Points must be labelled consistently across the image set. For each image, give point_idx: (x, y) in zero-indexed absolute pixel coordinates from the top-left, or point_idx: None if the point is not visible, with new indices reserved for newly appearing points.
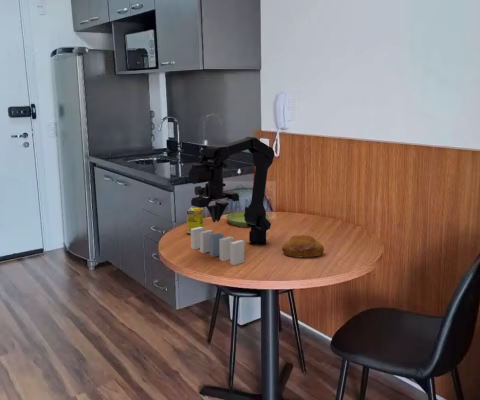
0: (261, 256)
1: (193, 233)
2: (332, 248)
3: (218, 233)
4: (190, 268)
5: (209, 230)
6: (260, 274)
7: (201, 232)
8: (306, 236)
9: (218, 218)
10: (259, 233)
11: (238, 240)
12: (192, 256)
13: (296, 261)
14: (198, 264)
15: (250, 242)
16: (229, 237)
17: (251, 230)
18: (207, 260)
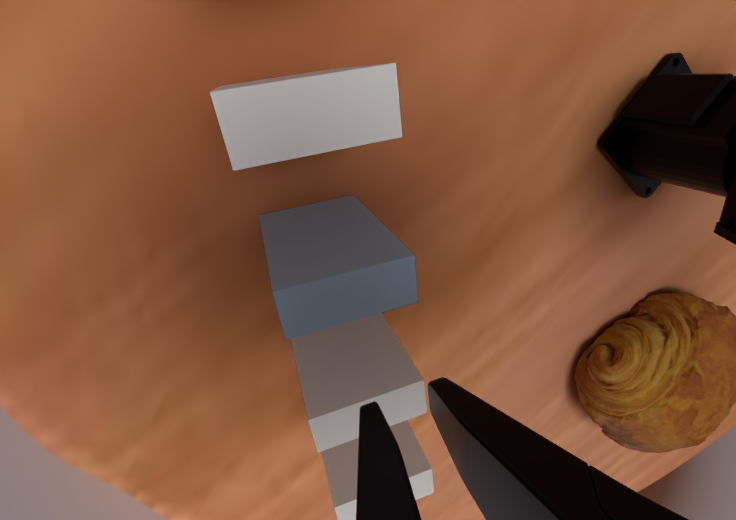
0: (496, 341)
1: None
2: None
3: (391, 267)
4: (24, 392)
5: (371, 95)
6: None
7: (228, 128)
8: (716, 421)
9: (455, 462)
10: (699, 189)
11: (412, 477)
12: (110, 164)
13: (547, 428)
14: (109, 344)
15: (616, 127)
16: (402, 405)
17: (711, 139)
18: (202, 296)
